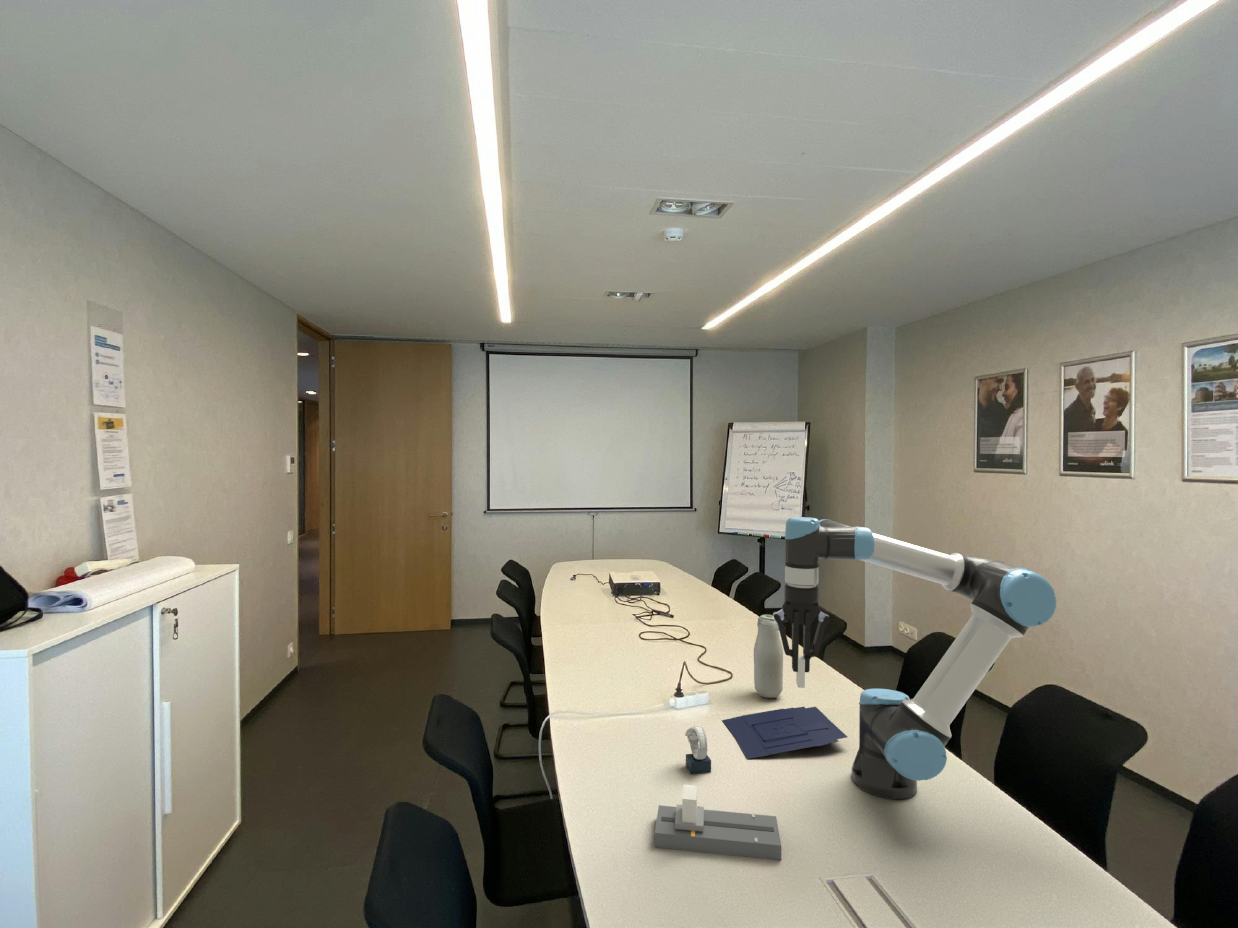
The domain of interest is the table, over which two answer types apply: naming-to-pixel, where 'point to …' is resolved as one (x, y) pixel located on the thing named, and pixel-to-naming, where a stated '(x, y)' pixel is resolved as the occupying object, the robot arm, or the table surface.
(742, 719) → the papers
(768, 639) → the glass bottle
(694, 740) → the watch
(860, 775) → the robot arm
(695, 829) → the fader tab
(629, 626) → the table surface
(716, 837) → the console
